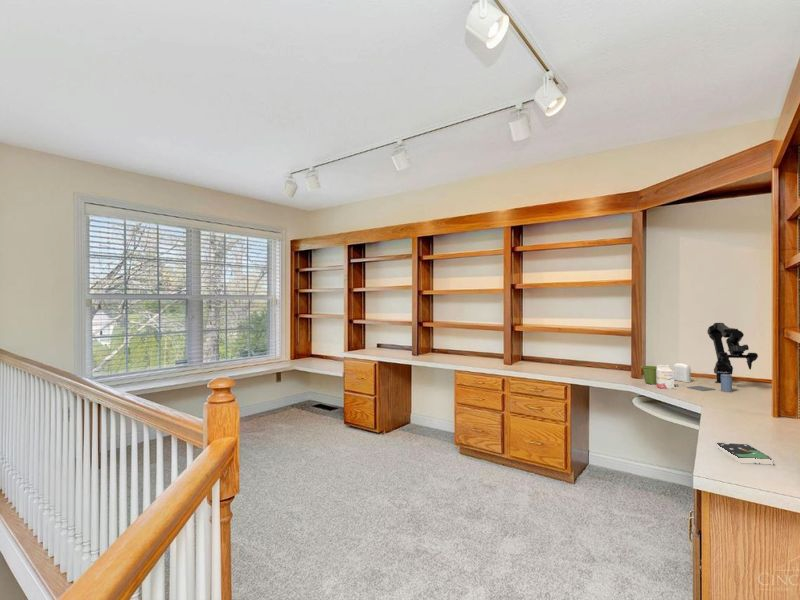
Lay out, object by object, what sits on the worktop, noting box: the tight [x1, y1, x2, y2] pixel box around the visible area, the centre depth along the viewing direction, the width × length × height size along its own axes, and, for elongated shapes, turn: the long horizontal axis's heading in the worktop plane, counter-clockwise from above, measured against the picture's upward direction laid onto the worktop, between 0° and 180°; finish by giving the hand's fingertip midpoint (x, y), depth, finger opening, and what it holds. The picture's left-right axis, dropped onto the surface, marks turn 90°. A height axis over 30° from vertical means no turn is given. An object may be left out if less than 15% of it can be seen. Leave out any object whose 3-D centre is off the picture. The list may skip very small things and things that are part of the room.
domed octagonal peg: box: [720, 374, 733, 393], centre depth 238 cm, size 5×5×10 cm
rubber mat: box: [686, 385, 716, 392], centre depth 247 cm, size 10×10×2 cm
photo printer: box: [673, 362, 692, 383], centre depth 275 cm, size 10×4×12 cm, turn 17°
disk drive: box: [716, 442, 773, 460], centre depth 145 cm, size 10×3×15 cm
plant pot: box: [640, 365, 657, 385], centre depth 271 cm, size 12×12×11 cm
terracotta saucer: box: [718, 389, 735, 394], centre depth 238 cm, size 7×7×5 cm
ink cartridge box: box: [656, 364, 675, 390], centre depth 256 cm, size 9×5×15 cm, turn 77°
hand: (740, 368), depth 239 cm, fingers open, 9 cm apart
